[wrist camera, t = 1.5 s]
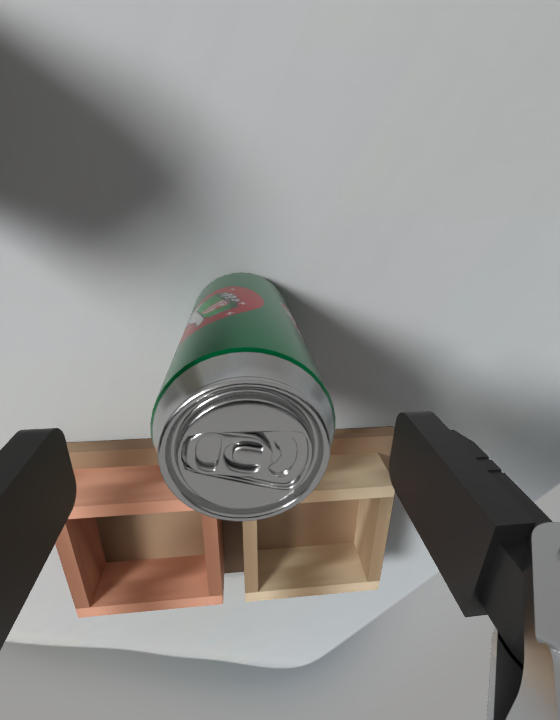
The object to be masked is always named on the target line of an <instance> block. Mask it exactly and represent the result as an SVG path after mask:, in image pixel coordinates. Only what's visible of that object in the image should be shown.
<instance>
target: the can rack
mask: <svg viewBox="0 0 560 720" xmlns="http://www.w3.org/2000/svg"><path fill="white" fill-rule="evenodd" d="M393 435H394V428H393V427H373V428H352V429H335V433H334V438H333V442H332V445H331V447H330V458H329V463H328V466H327V469H326V471H325V474H324V476H323V477H322V479H321V481H320V483H319V484H318V485H317V487H316V488H315V489H314V490H313V491H312V493H311V494H310V495H308V496H307V497H306V498H305V499H304V500H303V501H302V502H300V503H299V504H297V505H296V506H294V507H293V508H291V509H289V510H287V511H285V512H283V513H280V514H278V515H275V516H272V517H269V518H265V519H260V520H253V521H228V520H221V519H217V518H212V517H209V516H206V515H204V514H201V513H199V512H197V511H195V510H193V509H192V508H190V507H188V506H187V505H185V504H184V503H183V502H181V501H180V500H179V499H178V498H177V497H176V496H175V495H174V494H173V493H172V492H171V490H170V489H169V487H168V486H167V484H166V483H165V481H164V479H163V476H162V474H161V472H160V467H159V463H158V457H157V455H156V452H155V450H154V447H153V443H152V438H151V439H130V440H110V441H90V442H70V443H66V444H67V448H68V452H69V456H70V460H71V464H72V468H73V471H74V475H75V479H76V486H77V492H76V500H75V504H74V507H73V510H72V512H71V514H70V516H69V518H68V519H67V521H66V523H65V525H64V527H63V529H62V531H61V533H60V535H59V537H58V539H57V541H56V543H55V544H56V548H57V551H58V554H59V557H60V560H61V564H62V567H63V570H64V573H65V576H66V579H67V583H68V586H69V589H70V592H71V595H72V598H73V602H74V605H75V608H76V611H77V614H78V618H79V617H90V616H100V615H111V614H122V613H132V612H143V611H153V610H164V609H175V608H185V607H196V606H206V605H217V604H223V589H224V573H232V572H244V576H245V602H249V601H259V600H270V599H280V598H291V597H302V596H312V595H323V594H333V593H344V592H355V591H365V590H376V589H378V587H379V581H380V575H381V569H382V564H383V558H384V552H385V546H386V540H387V535H388V529H389V523H390V517H391V511H392V506H393V500H394V494H395V490H394V488H393V486H392V483H391V480H390V475H389V459H390V453H391V447H392V441H393Z"/></svg>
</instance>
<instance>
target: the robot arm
mask: <svg viewBox="0 0 560 720" xmlns="http://www.w3.org/2000/svg"><path fill="white" fill-rule="evenodd" d="M389 475H390V480H391V483H392V486H393V488H394V490H395V492H396V494H397V495H398V497H399V499H400V501H401V503H402V504H403V506H404V508H405V510H406V512H407V513H408V515H409V517H410V519H411V521H412V522H413V524H414V526H415V528H416V530H417V531H418V533H419V535H420V537H421V539H422V540H423V542H424V544H425V546H426V548H427V549H428V551H429V553H430V555H431V557H432V558H433V560H434V562H435V564H436V566H437V567H438V569H439V571H440V573H441V575H442V576H443V578H444V580H445V582H446V583H447V585H448V587H449V589H450V591H451V593H452V594H453V596H454V598H455V600H456V602H457V603H458V605H459V607H460V609H461V611H462V612H463V614H464V616H465V617H471V616H479V615H488V616H489V617H490V619H491V621H492V622H493V624H494V625H495V629H494V631H493V634H492V639H491V657H490V673H489V689H488V705H487V720H560V523H558V522H552V521H551V520H550V519H549V518H548V517H547V516H546V515H545V514H544V513H543V511H542V510H541V509H539V507H537V506H536V504H535V503H534V502H533V501H532V500H531V499H530V498H529V497H528V496H527V495H526V494H525V493H524V492H523V491H522V490H521V489H520V488H519V487H518V486H517V485H516V484H515V483H514V482H513V481H512V480H511V479H510V478H509V477H508V476H507V475H506V474H505V473H502V472H501V469H500V468H499V467H498V466H497V465H496V464H495V463H494V462H493V461H492V460H489V458H488V456H487V455H486V454H485V453H484V452H483V451H482V450H481V449H480V448H479V447H478V446H477V445H476V444H475V443H474V442H473V441H471V440H469V439H468V438H466V437H464V436H463V435H461V434H459V433H458V432H456V431H454V430H449V429H448V428H447V427H446V426H445V425H444V424H443V423H442V422H441V420H440V419H439V418H438V417H437V416H436V415H435V414H434V413H432V412H430V411H426V412H405V413H400V414H399V415H398V416H397V419H396V423H395V429H394V435H393V441H392V447H391V453H390V459H389ZM76 492H77V486H76V479H75V475H74V471H73V468H72V464H71V460H70V456H69V452H68V448H67V444H66V440H65V436H64V434H63V432H62V431H61V430H60V429H58V428H51V429H30V430H20V431H18V432H17V433H16V434H15V435H14V436H13V437H12V438H11V439H10V440H9V442H8V443H7V444H6V445H5V446H4V447H3V448H2V449H1V450H0V650H1V648H2V646H3V643H4V642H5V640H6V638H7V636H8V634H9V632H10V630H11V628H12V626H13V624H14V623H15V621H16V619H17V617H18V615H19V613H20V611H21V609H22V607H23V605H24V603H25V601H26V599H27V597H28V595H29V593H30V591H31V589H32V588H33V586H34V584H35V582H36V580H37V578H38V576H39V574H40V572H41V570H42V568H43V566H44V564H45V562H46V560H47V558H48V556H49V554H50V553H51V551H52V549H53V547H54V545H55V543H56V541H57V539H58V537H59V535H60V533H61V531H62V529H63V527H64V525H65V523H66V521H67V519H68V518H69V516H70V514H71V512H72V510H73V507H74V504H75V500H76Z"/></svg>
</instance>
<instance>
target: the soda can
mask: <svg viewBox="0 0 560 720" xmlns="http://www.w3.org/2000/svg"><path fill="white" fill-rule="evenodd" d="M334 433H335V413H334V407H333V404H332V401H331V398H330V395H329V393H328V391H327V389H326V387H325V384H324V382H323V380H322V378H321V376H320V374H319V372H318V369H317V367H316V365H315V363H314V361H313V359H312V357H311V354H310V352H309V350H308V348H307V346H306V344H305V342H304V340H303V337H302V335H301V333H300V331H299V329H298V327H297V325H296V322H295V320H294V318H293V316H292V314H291V312H290V310H289V307H288V305H287V303H286V301H285V299H284V297H283V296H282V294H281V293H280V291H279V290H278V289H277V288H276V287H275V286H274V285H273V284H272V283H271V282H269V281H267V280H266V279H264V278H262V277H260V276H257V275H253V274H250V273H232V274H228V275H224V276H222V277H220V278H218V279H216V280H214V281H213V282H211V283H210V284H209V285H208V286H207V287H206V288H205V289H204V290H203V291H202V292H201V294H200V296H199V297H198V299H197V301H196V304H195V306H194V309H193V311H192V314H191V316H190V318H189V321H188V323H187V326H186V328H185V331H184V333H183V336H182V338H181V341H180V343H179V345H178V348H177V350H176V353H175V355H174V358H173V360H172V363H171V365H170V368H169V370H168V373H167V375H166V377H165V380H164V382H163V385H162V387H161V390H160V392H159V395H158V397H157V400H156V403H155V405H154V408H153V412H152V418H151V438H152V443H153V447H154V450H155V452H156V455H157V457H158V463H159V467H160V472H161V474H162V476H163V479H164V481H165V483H166V484H167V486H168V487H169V489H170V490H171V492H172V493H173V494H174V495H175V496H176V497H177V498H178V499H179V500H180V501H181V502H183V503H184V504H185V505H187V506H188V507H190V508H192V509H193V510H195V511H197V512H199V513H201V514H204V515H206V516H209V517H212V518H217V519H221V520H228V521H253V520H260V519H265V518H269V517H272V516H275V515H278V514H280V513H283V512H285V511H287V510H289V509H291V508H293V507H294V506H296V505H297V504H299V503H300V502H302V501H303V500H304V499H305V498H306V497H307V496H308V495H310V494H311V493H312V491H313V490H314V489H315V488H316V487H317V485H318V484H319V483H320V481H321V479H322V477H323V476H324V474H325V471H326V469H327V466H328V463H329V458H330V447H331V445H332V442H333V438H334Z"/></svg>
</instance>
